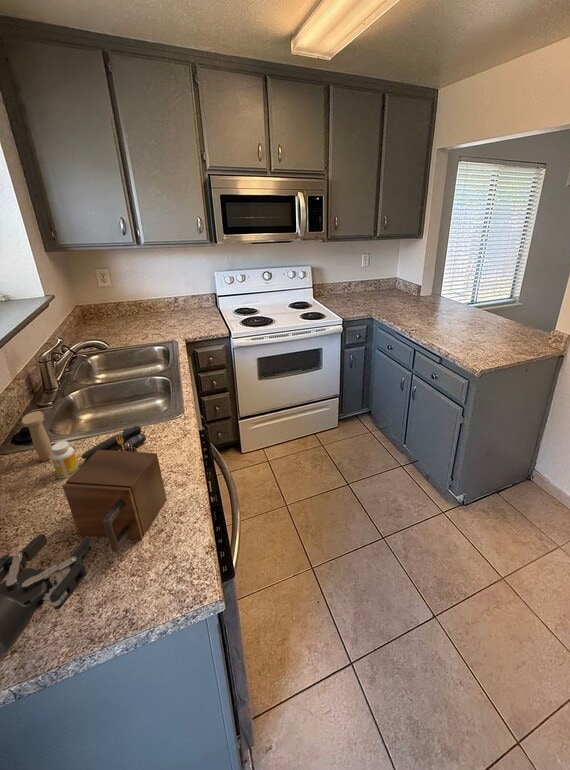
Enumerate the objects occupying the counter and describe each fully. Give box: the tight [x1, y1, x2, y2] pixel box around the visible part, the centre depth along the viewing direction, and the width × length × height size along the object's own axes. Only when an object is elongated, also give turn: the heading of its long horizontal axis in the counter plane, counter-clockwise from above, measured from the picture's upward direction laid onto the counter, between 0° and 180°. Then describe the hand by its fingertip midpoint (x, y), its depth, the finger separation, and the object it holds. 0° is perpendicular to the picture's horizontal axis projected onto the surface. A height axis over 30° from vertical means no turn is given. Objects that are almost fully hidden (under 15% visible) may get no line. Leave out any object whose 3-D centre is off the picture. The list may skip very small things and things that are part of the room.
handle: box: [21, 410, 53, 462], centre depth 107 cm, size 5×6×15 cm
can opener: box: [81, 425, 147, 464], centre depth 112 cm, size 18×7×6 cm, turn 135°
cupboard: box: [65, 450, 168, 537], centre depth 88 cm, size 11×16×16 cm
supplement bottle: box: [51, 440, 80, 479], centre depth 103 cm, size 5×5×10 cm
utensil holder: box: [114, 431, 138, 452], centre depth 103 cm, size 6×6×12 cm
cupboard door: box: [61, 482, 144, 553], centre depth 79 cm, size 6×16×15 cm, turn 85°
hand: (66, 539), depth 63 cm, fingers open, 8 cm apart
